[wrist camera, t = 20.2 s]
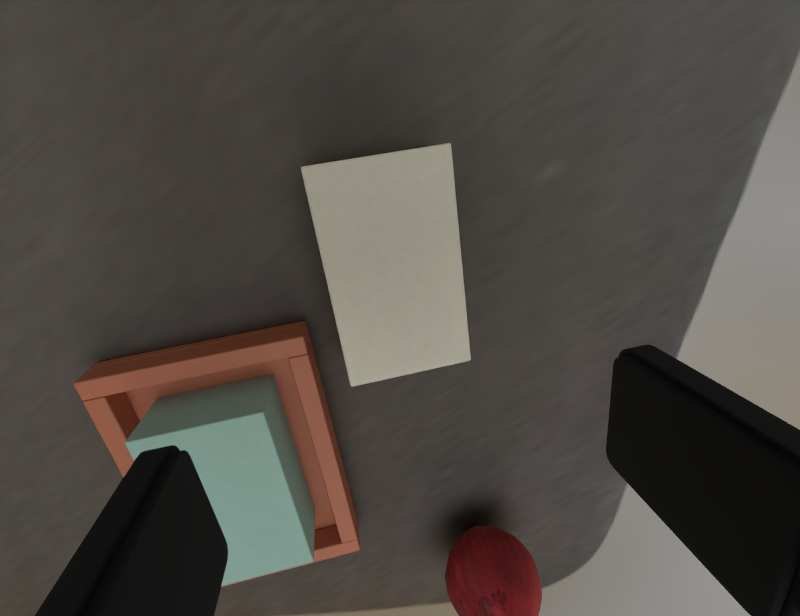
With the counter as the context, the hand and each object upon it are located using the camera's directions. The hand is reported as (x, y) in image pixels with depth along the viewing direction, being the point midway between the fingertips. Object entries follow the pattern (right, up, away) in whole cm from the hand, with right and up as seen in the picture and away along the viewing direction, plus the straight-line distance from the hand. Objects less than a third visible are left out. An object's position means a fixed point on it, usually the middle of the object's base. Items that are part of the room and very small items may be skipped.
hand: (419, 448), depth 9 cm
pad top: (-1, +6, +12) cm, 13 cm away
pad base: (-9, -6, +14) cm, 18 cm away
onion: (+5, -13, +20) cm, 24 cm away
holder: (-9, -5, +14) cm, 18 cm away
